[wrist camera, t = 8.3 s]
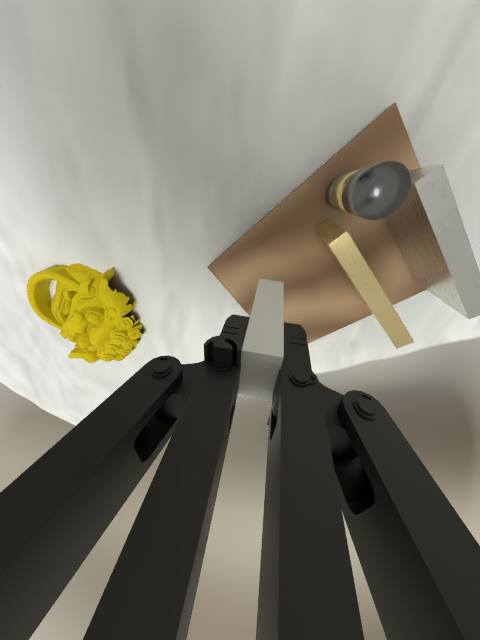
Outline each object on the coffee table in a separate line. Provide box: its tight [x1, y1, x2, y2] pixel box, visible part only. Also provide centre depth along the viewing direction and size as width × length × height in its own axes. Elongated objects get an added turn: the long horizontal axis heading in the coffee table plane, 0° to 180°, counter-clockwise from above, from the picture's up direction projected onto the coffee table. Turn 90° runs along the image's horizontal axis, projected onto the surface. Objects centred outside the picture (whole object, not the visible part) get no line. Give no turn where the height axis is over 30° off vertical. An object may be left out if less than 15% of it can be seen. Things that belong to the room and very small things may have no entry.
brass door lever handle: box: [315, 168, 414, 349], centre depth 16 cm, size 12×4×7 cm, turn 42°
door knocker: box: [27, 264, 145, 363], centre depth 30 cm, size 17×16×4 cm
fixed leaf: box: [325, 161, 480, 319], centre depth 14 cm, size 12×4×9 cm, turn 40°
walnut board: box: [208, 103, 426, 343], centre depth 21 cm, size 15×19×1 cm
